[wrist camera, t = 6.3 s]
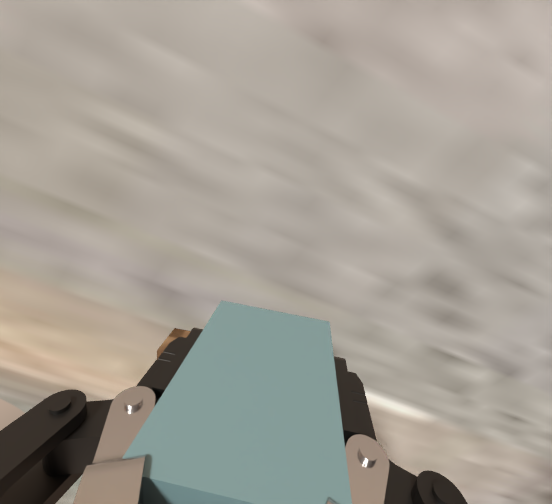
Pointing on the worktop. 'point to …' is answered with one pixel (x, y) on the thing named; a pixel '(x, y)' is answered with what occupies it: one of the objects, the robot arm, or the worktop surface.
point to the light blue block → (249, 416)
